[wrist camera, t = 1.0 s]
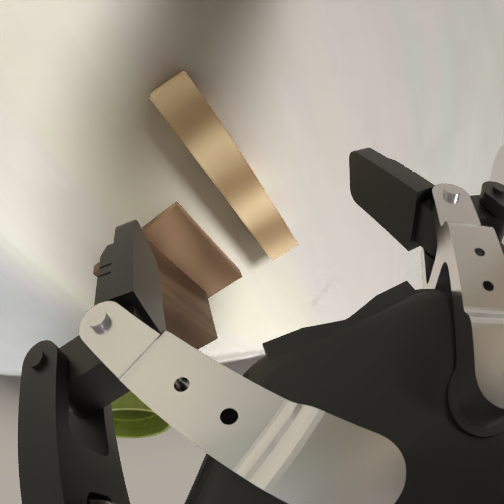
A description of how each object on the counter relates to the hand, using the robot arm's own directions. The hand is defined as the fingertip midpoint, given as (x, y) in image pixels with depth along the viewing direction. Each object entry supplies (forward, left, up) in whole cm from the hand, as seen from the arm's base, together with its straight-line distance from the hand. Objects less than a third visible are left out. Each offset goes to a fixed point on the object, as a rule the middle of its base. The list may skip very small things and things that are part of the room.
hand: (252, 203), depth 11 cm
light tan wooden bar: (+1, +7, -18) cm, 19 cm away
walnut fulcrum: (+13, +13, -18) cm, 25 cm away
